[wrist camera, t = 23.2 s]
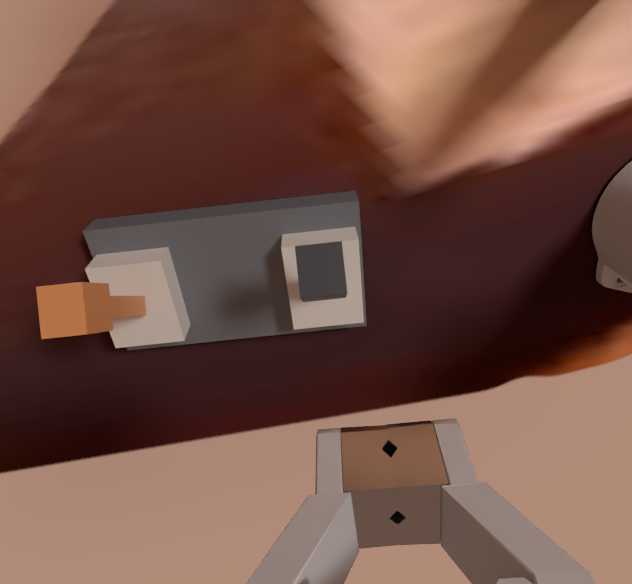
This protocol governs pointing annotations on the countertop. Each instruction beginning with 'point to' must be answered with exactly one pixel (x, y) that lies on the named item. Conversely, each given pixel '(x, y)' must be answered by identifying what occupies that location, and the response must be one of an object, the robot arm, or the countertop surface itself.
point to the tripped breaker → (82, 309)
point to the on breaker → (321, 271)
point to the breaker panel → (226, 269)
